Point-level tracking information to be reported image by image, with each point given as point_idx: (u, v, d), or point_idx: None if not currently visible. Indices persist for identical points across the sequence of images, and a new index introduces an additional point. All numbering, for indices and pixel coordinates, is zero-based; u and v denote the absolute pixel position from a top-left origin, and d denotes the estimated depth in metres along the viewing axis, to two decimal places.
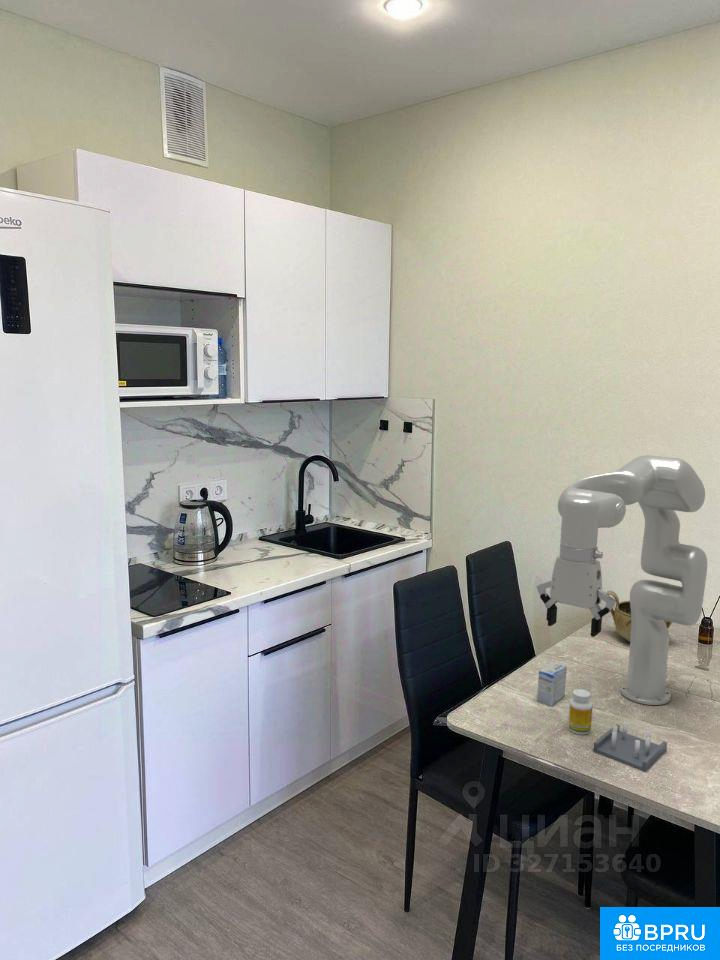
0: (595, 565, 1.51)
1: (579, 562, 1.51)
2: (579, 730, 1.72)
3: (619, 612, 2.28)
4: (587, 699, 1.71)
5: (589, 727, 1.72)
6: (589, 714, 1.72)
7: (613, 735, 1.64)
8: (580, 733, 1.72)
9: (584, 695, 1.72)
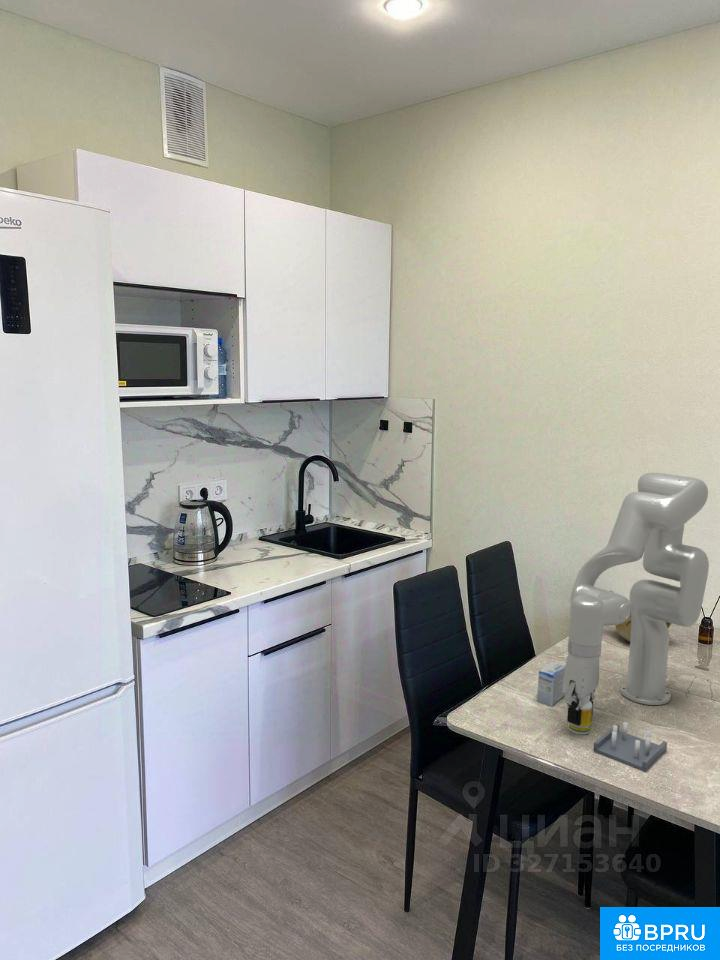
0: None
1: (600, 653, 1.70)
2: (579, 730, 1.72)
3: None
4: (587, 699, 1.71)
5: (589, 727, 1.72)
6: (589, 714, 1.72)
7: (613, 735, 1.64)
8: (580, 733, 1.72)
9: None
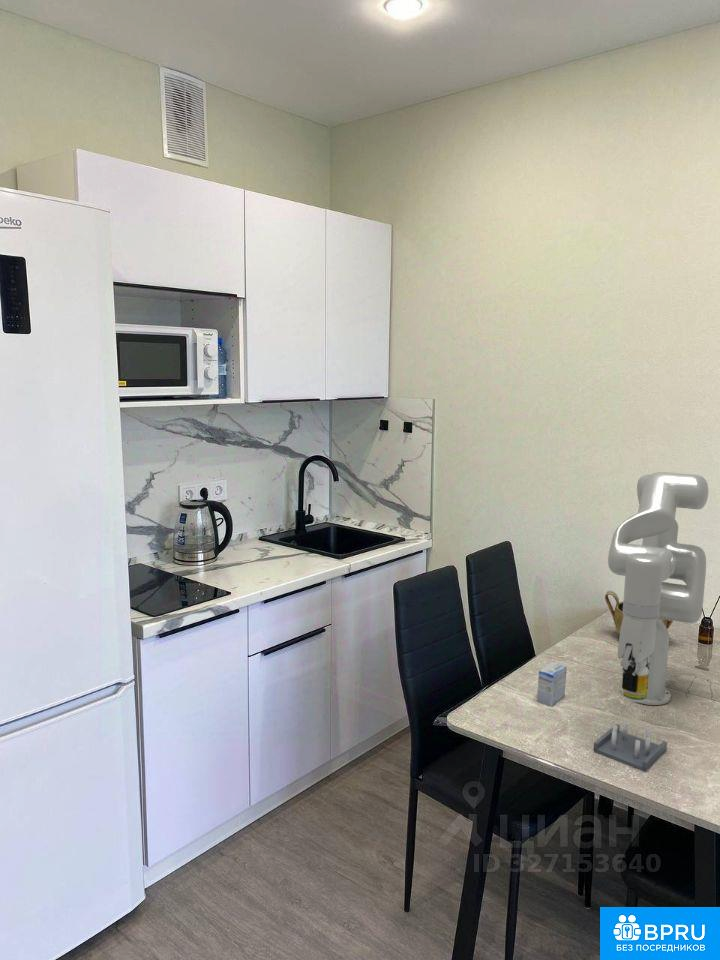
0: None
1: None
2: (635, 697, 1.60)
3: (619, 612, 2.28)
4: (644, 664, 1.60)
5: (645, 694, 1.61)
6: (646, 680, 1.60)
7: (613, 735, 1.64)
8: (636, 701, 1.60)
9: None
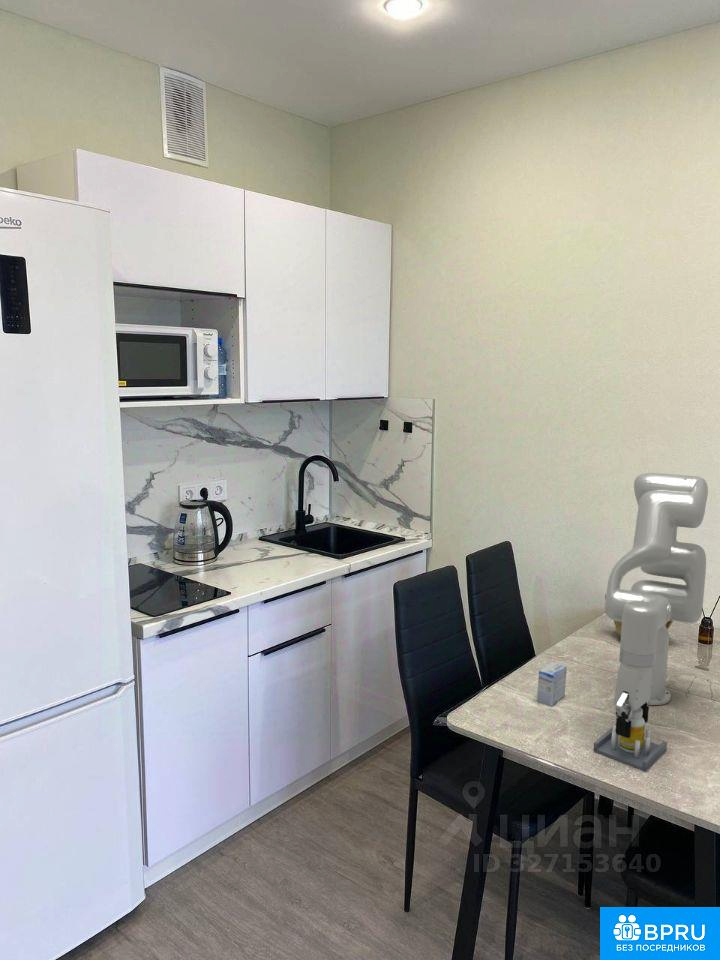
0: None
1: None
2: (631, 748, 1.62)
3: None
4: (640, 715, 1.62)
5: (641, 745, 1.63)
6: (642, 731, 1.62)
7: (613, 735, 1.64)
8: (632, 751, 1.63)
9: (636, 711, 1.62)
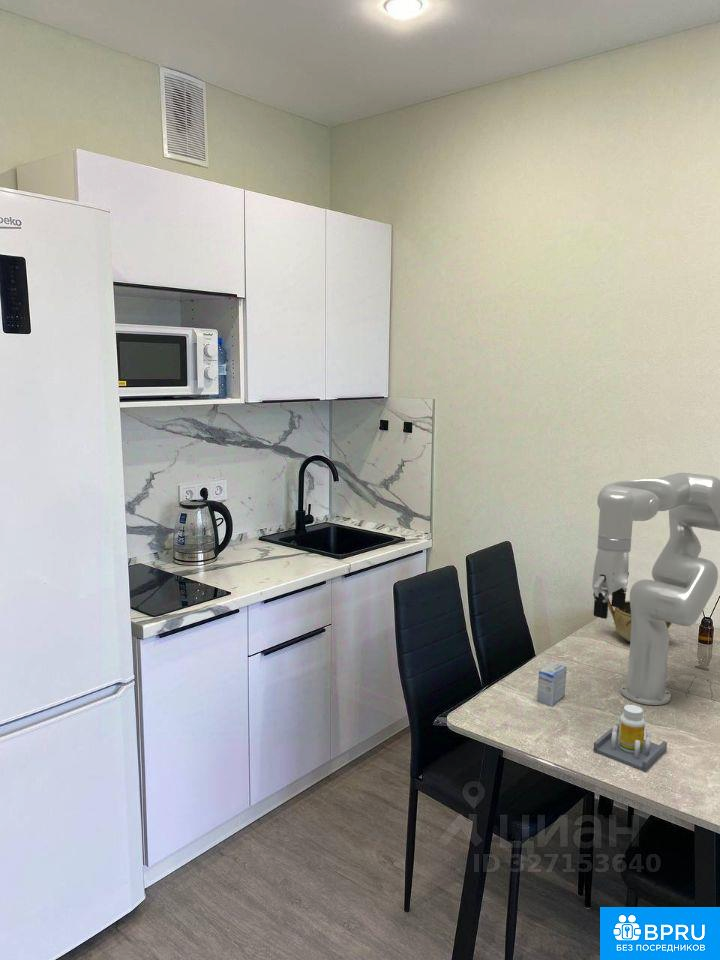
0: None
1: (630, 548, 1.71)
2: (631, 748, 1.62)
3: (619, 612, 2.28)
4: (640, 715, 1.62)
5: (641, 745, 1.63)
6: (642, 731, 1.62)
7: (613, 735, 1.64)
8: (632, 751, 1.63)
9: (636, 711, 1.62)
